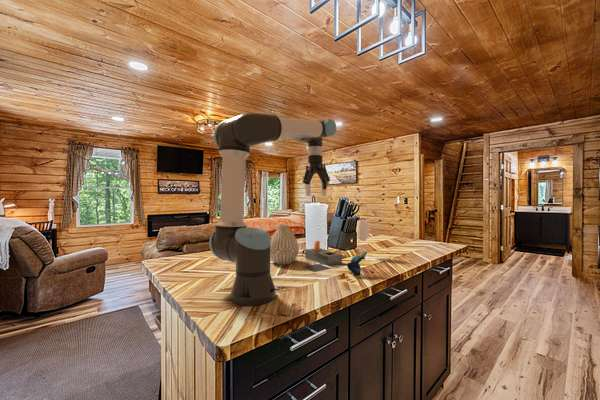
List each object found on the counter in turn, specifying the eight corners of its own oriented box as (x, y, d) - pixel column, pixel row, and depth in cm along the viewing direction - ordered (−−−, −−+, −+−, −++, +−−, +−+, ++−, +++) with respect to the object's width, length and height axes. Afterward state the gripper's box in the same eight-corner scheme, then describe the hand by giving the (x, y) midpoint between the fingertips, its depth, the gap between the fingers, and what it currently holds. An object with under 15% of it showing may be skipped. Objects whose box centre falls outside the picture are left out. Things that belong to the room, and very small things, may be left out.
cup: (354, 256, 149) (354, 220, 149) (364, 255, 151) (364, 219, 151) (361, 258, 142) (361, 221, 142) (372, 257, 145) (372, 220, 144)
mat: (331, 269, 122) (331, 268, 122) (314, 272, 117) (314, 271, 117) (318, 264, 131) (318, 263, 131) (302, 267, 125) (302, 266, 125)
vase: (280, 269, 123) (280, 227, 123) (262, 262, 135) (261, 224, 135) (305, 263, 134) (304, 224, 134) (285, 257, 146) (285, 222, 146)
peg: (320, 259, 142) (320, 241, 141) (316, 260, 140) (316, 241, 140) (317, 258, 144) (317, 240, 144) (313, 259, 142) (313, 241, 142)
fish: (370, 274, 114) (369, 252, 113) (350, 277, 110) (350, 254, 110) (364, 272, 118) (363, 250, 117) (344, 274, 114) (344, 252, 114)
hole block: (342, 264, 131) (342, 254, 131) (328, 266, 127) (328, 256, 126) (318, 256, 148) (318, 247, 148) (305, 258, 143) (305, 249, 143)
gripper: (336, 152, 127) (336, 195, 127) (307, 159, 148) (307, 196, 148) (324, 151, 123) (324, 196, 123) (296, 158, 144) (296, 196, 144)
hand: (315, 196), depth 136 cm, fingers open, 13 cm apart
